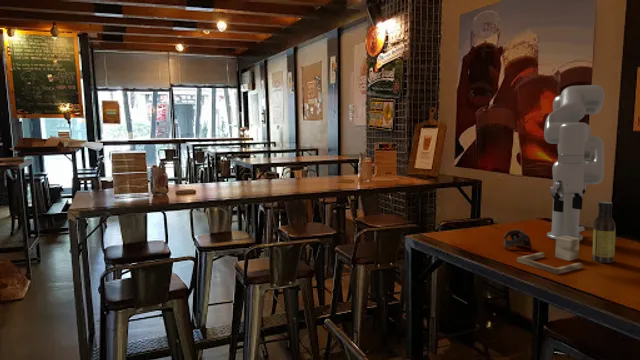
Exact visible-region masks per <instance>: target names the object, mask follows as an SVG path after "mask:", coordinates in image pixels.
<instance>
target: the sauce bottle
mask: <svg viewBox="0 0 640 360" xmlns="http://www.w3.org/2000/svg"><path fill="white" fill-rule="evenodd" d="M597 204H598V214H597V217H596V218H595V220H594V222H593V229H592V230H593V231H592V232H593V234H592V253H591V254H592V261H594V262H597V263H603V264H607V263H609V264H610V263H613V262H614V261H615V259H614V258H615V255H616V254H615V253H616V252H615V251H616V232H617V231H616V230H617V228H616V227H617V226H616V222H615V220H614V219H613V217H612V216H613V207H614V205H613V202H611V201H598V203H597Z"/></svg>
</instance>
